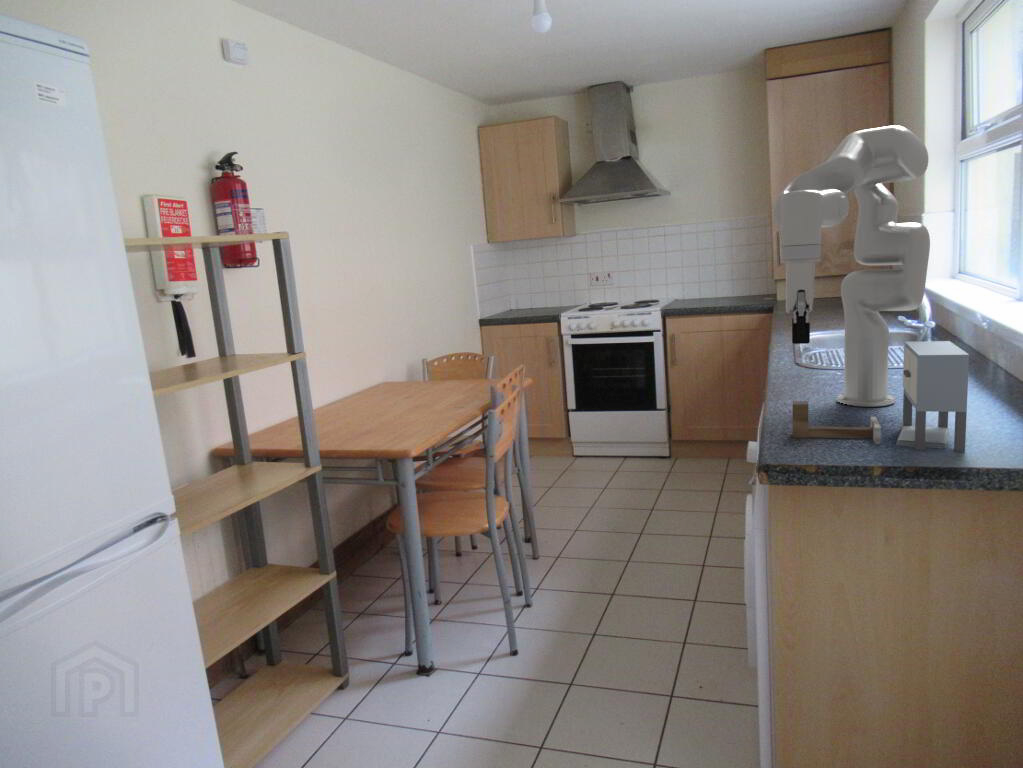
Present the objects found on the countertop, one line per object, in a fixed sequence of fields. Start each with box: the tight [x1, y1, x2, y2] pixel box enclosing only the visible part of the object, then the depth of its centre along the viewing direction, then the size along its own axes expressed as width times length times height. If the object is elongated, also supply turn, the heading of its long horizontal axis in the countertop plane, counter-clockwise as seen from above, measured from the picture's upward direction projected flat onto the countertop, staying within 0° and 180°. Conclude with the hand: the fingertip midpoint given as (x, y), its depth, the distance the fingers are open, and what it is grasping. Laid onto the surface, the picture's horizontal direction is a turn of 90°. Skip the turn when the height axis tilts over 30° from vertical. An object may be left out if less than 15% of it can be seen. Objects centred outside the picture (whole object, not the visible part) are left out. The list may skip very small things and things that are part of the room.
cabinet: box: [902, 340, 970, 453], centre depth 145 cm, size 18×9×18 cm, turn 160°
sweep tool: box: [792, 400, 882, 445], centre depth 152 cm, size 10×16×7 cm, turn 70°
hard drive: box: [896, 425, 949, 449], centre depth 147 cm, size 2×8×12 cm
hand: (800, 340), depth 151 cm, fingers open, 9 cm apart
